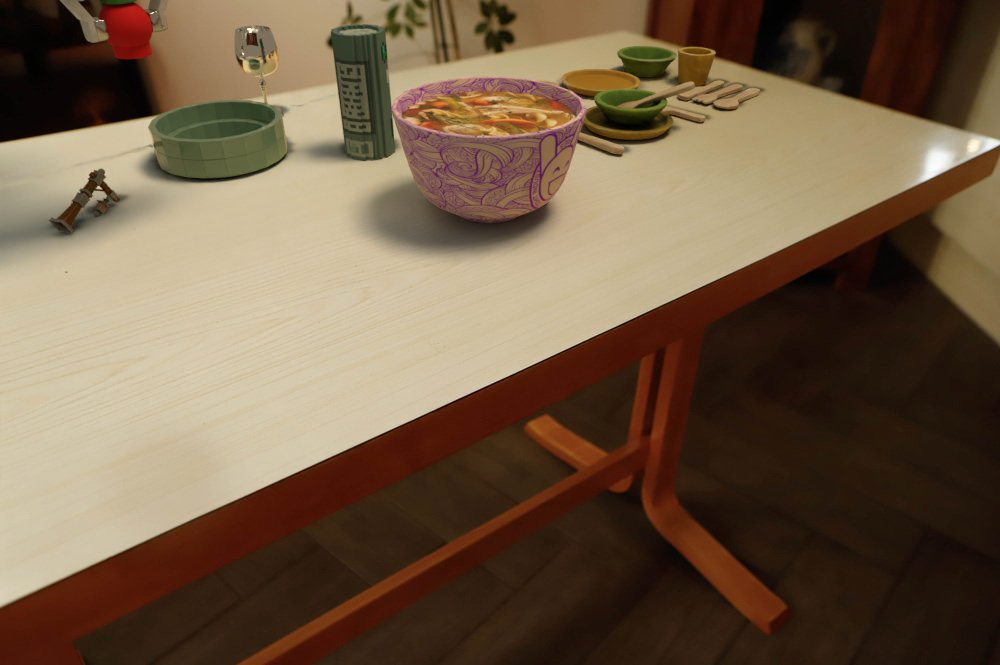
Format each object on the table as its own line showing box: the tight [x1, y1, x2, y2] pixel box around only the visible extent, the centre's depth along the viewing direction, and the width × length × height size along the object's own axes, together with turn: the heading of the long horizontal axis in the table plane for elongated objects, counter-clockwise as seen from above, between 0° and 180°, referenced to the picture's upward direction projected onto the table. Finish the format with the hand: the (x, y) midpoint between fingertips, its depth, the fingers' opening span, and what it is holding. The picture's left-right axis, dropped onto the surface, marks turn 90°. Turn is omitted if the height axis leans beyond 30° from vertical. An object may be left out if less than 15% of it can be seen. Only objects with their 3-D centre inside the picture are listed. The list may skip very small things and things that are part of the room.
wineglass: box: [234, 25, 285, 118], centre depth 102 cm, size 6×6×12 cm
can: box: [330, 23, 396, 161], centre depth 90 cm, size 6×6×15 cm
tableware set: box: [534, 45, 761, 155], centre depth 110 cm, size 41×28×6 cm
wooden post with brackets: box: [48, 168, 121, 235], centre depth 77 cm, size 2×8×4 cm, turn 160°
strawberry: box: [97, 0, 153, 60], centre depth 66 cm, size 4×4×5 cm
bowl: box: [147, 99, 288, 179], centre depth 91 cm, size 16×16×5 cm
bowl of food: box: [391, 76, 588, 224], centre depth 77 cm, size 20×20×12 cm
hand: (127, 35), depth 66 cm, fingers closed on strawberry, 4 cm apart
